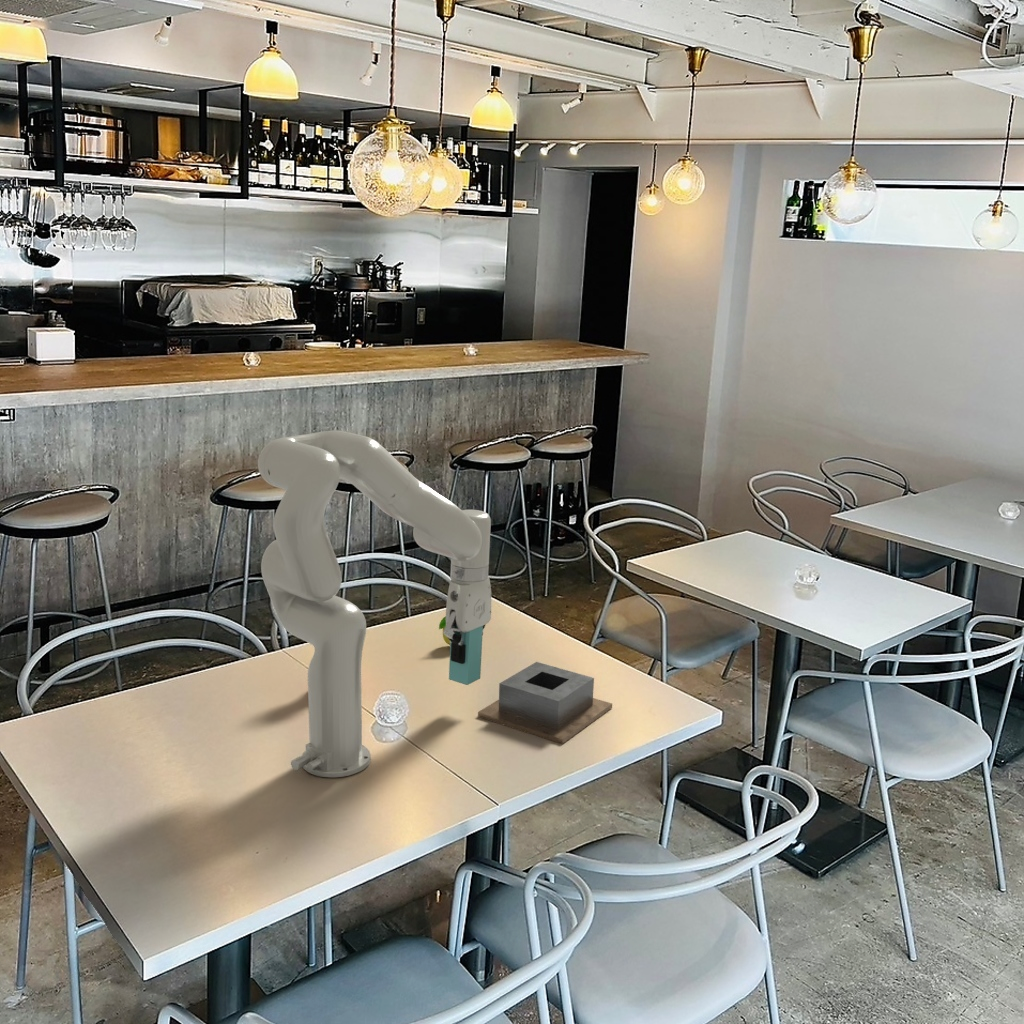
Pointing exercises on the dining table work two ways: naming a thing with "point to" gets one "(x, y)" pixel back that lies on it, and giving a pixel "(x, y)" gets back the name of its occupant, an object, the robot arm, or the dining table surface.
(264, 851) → the dining table surface
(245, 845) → the dining table surface
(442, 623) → the lemon
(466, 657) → the teal post
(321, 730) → the robot arm
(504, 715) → the well
